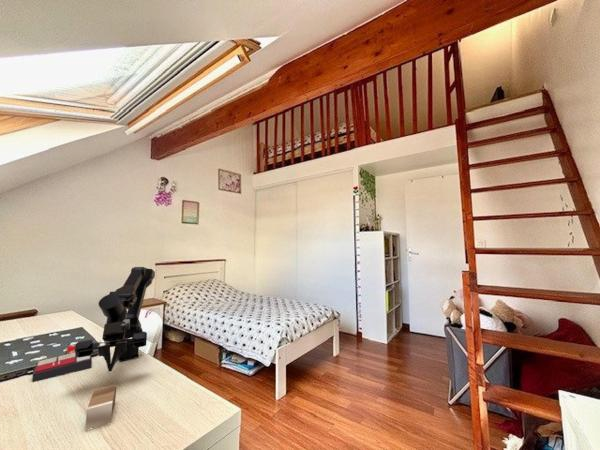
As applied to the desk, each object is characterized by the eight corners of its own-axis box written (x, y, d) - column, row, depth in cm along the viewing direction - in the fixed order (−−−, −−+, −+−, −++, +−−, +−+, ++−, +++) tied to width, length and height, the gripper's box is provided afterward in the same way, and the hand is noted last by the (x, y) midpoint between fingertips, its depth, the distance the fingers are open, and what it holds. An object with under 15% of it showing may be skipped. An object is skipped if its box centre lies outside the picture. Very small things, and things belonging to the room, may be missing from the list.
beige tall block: (94, 389, 70) (86, 409, 61) (116, 384, 73) (112, 402, 64) (92, 408, 70) (85, 430, 61) (115, 402, 72) (110, 423, 64)
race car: (84, 359, 100) (85, 349, 100) (66, 363, 96) (66, 353, 96) (82, 349, 109) (83, 340, 110) (65, 353, 106) (66, 343, 106)
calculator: (36, 360, 91) (90, 347, 101) (36, 372, 90) (90, 358, 100) (32, 372, 83) (91, 356, 92) (32, 385, 82) (91, 368, 92)
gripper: (78, 315, 78) (65, 367, 68) (148, 307, 88) (146, 352, 77) (82, 333, 84) (71, 383, 74) (147, 324, 94) (145, 367, 84)
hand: (110, 370), depth 77 cm, fingers closed
